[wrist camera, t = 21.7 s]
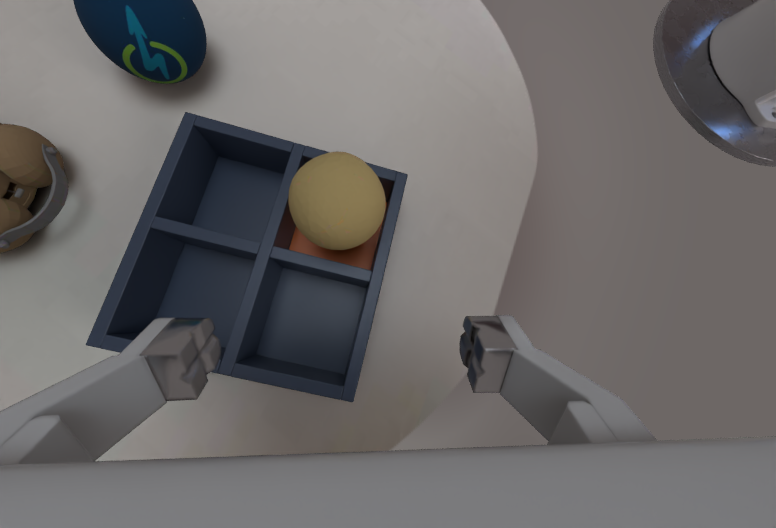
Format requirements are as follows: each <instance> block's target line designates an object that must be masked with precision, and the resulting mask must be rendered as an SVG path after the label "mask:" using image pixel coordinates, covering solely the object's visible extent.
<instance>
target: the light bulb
mask: <svg viewBox="0 0 776 528" xmlns="http://www.w3.org/2000/svg"><path fill="white" fill-rule="evenodd" d="M288 202H289V208H290V213H291V215H292V218H293V221H294V223H295V224H296V226H297V228H298V229H299V231H300V232H301V233H302V234H303V235H304V236H305V237H306V238H307V239H308V240H310V241H311V242H313V243H314V244H316V245H318V246H320V247H323V248H326V249H331V250H346V249H351V248H354V247H356V246H359V245H361V244H363V243H364V242H366V241H367V240H368V239H370V238H371V237H372V236H373V235H374V233H375V232H376V231H377V229H378V228H379V226H380V224H381V223H382V220H383V217H384V213H385V208H386V198H385V193H384V189H383V187H382V184H381V182H380V180H379V178H378V176H377V175H376V174H375V172H374V171H373V170H372V169H371V168H370V167H369V166H368V165H367V164H366V163H365V162H364V161H363V160H361V159H359V158H358V157H356V156H354V155H352V154H349V153H346V152H331V153H326V154H323V155H320V156H317V157H315V158H313V159H311V160H310V161H308V162H307V163H306V164H304V165H303V166H302V167H301V168H300V169H299V170H298V172H297V173H296V174H295V176H294V177H293V179H292V182H291V185H290V188H289V198H288Z"/></svg>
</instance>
